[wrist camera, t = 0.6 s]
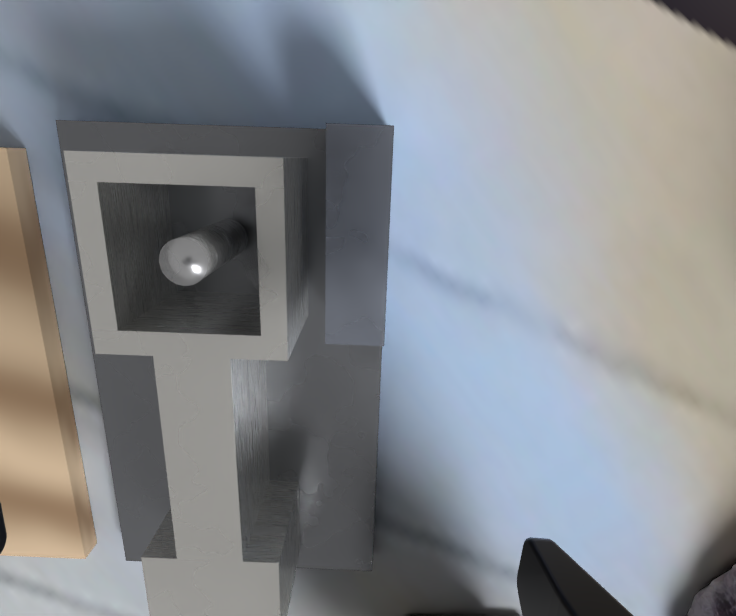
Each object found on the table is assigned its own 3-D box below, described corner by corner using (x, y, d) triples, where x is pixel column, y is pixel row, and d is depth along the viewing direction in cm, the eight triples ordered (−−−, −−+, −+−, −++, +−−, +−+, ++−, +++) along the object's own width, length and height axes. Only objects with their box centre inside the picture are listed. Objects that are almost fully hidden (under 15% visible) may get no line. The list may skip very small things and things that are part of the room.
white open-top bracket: (309, 551, 22) (294, 644, 18) (185, 546, 23) (140, 638, 18) (307, 157, 17) (283, 157, 13) (142, 152, 17) (63, 150, 13)
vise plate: (372, 554, 24) (370, 666, 18) (136, 544, 24) (68, 653, 19) (390, 132, 18) (396, 121, 12) (73, 122, 18) (-55, 107, 13)
